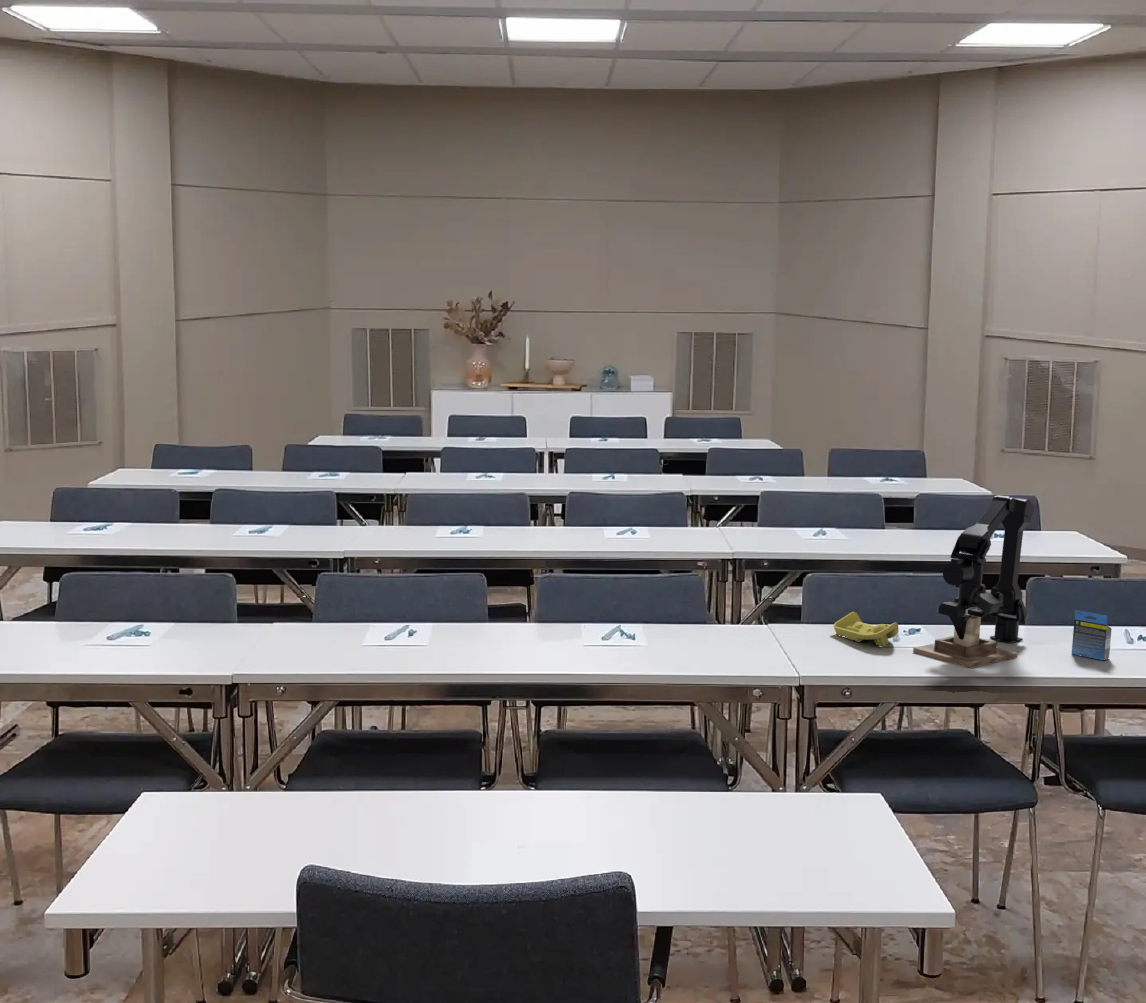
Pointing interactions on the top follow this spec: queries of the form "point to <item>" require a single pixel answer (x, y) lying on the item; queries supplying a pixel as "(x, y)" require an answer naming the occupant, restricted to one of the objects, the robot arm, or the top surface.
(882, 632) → the plastic component
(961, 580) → the robot arm
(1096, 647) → the blue retail box
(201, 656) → the top surface
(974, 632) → the birch peg
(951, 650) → the holder board
